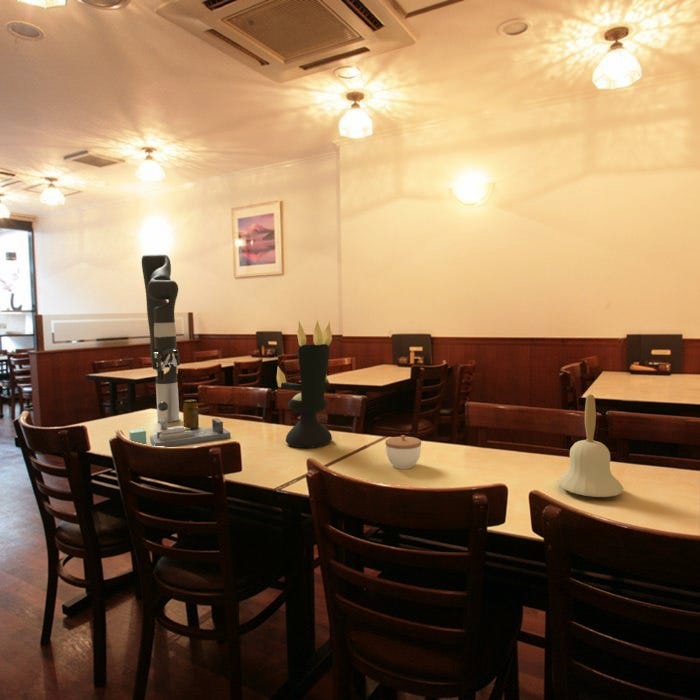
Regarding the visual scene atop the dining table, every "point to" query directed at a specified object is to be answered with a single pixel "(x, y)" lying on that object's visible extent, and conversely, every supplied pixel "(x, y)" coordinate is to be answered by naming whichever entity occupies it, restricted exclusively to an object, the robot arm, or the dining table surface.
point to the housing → (138, 435)
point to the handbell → (590, 463)
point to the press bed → (192, 435)
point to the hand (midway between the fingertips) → (167, 379)
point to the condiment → (191, 415)
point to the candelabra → (309, 389)
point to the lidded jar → (403, 451)
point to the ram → (163, 420)
